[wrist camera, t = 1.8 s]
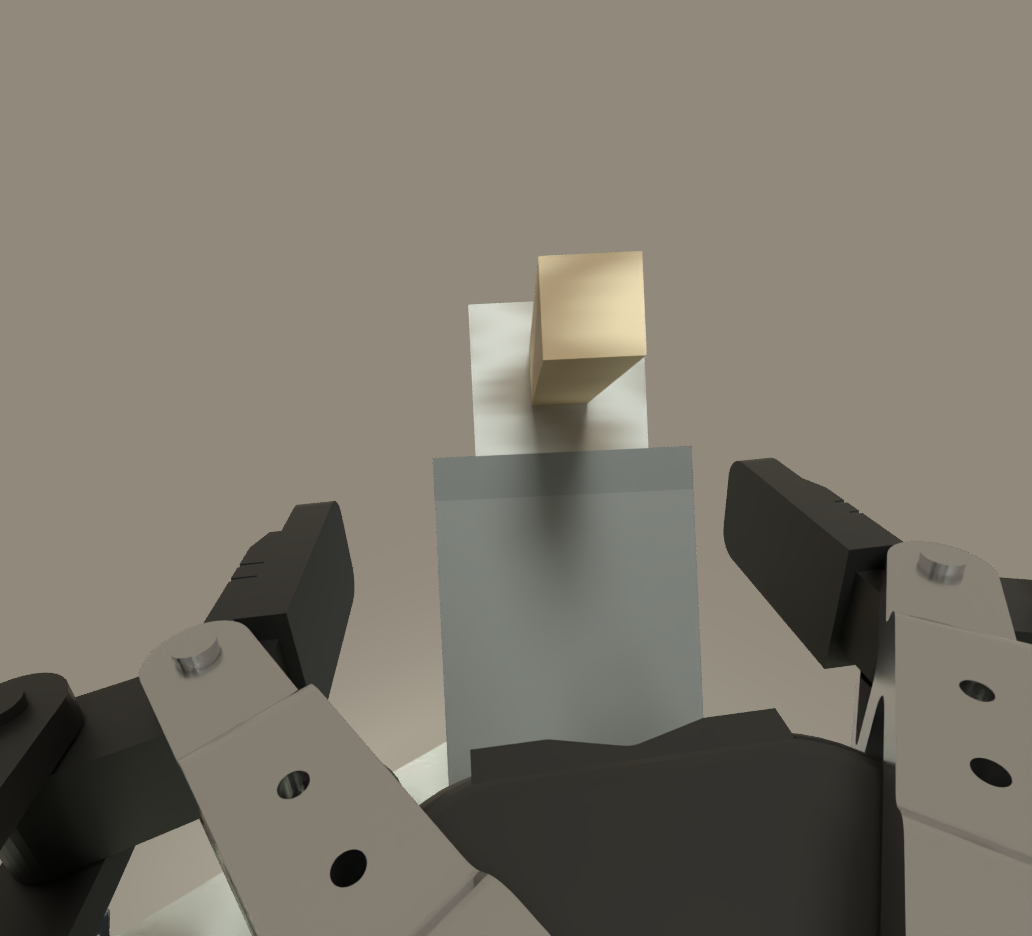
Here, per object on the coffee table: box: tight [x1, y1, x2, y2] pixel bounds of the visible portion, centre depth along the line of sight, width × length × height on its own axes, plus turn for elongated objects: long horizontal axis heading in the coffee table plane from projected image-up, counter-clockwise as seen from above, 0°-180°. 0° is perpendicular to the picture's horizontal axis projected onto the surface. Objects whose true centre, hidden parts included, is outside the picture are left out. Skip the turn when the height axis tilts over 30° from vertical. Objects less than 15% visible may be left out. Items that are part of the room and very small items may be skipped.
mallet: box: [468, 251, 648, 456], centre depth 24 cm, size 8×20×7 cm, turn 0°
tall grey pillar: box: [433, 446, 703, 786], centre depth 32 cm, size 12×12×32 cm
